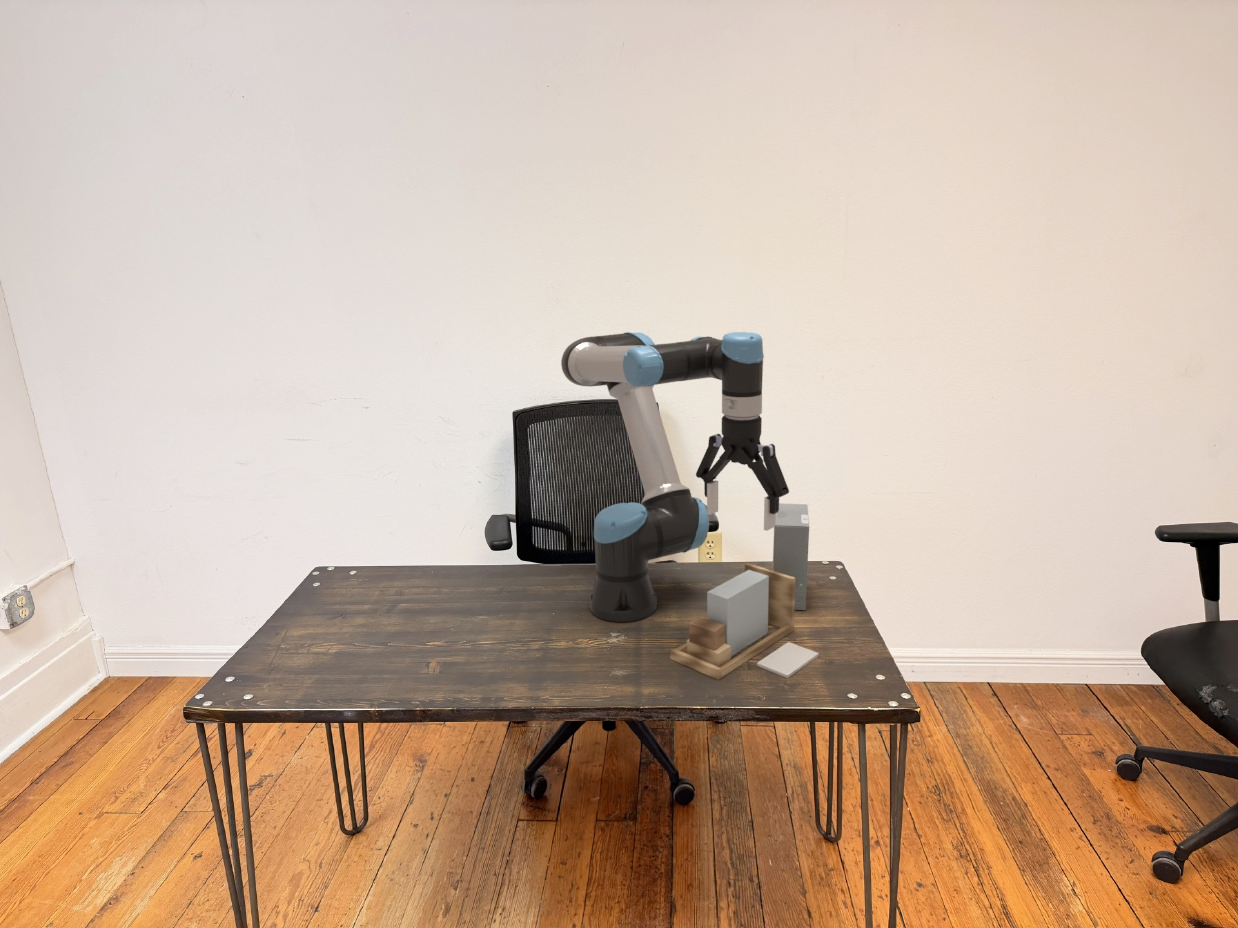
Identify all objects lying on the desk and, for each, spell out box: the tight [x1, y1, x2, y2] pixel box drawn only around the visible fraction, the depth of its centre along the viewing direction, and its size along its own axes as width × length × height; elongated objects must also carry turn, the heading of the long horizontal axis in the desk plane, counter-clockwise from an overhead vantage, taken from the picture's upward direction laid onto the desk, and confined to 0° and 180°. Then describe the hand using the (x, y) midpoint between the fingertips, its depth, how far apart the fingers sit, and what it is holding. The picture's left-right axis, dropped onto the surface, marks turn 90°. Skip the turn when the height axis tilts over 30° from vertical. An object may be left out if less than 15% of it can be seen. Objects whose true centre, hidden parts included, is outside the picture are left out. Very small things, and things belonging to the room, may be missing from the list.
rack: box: [669, 562, 796, 681], centre depth 166 cm, size 12×26×12 cm, turn 136°
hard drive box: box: [772, 502, 810, 611], centre depth 186 cm, size 16×8×20 cm, turn 168°
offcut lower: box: [686, 638, 732, 668], centre depth 161 cm, size 8×4×4 cm, turn 45°
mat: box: [756, 641, 820, 679], centre depth 161 cm, size 7×11×1 cm, turn 136°
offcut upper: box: [688, 616, 725, 651], centre depth 160 cm, size 6×4×4 cm, turn 50°
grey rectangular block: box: [706, 570, 769, 657], centre depth 167 cm, size 5×14×13 cm, turn 136°
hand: (740, 520), depth 161 cm, fingers open, 13 cm apart
